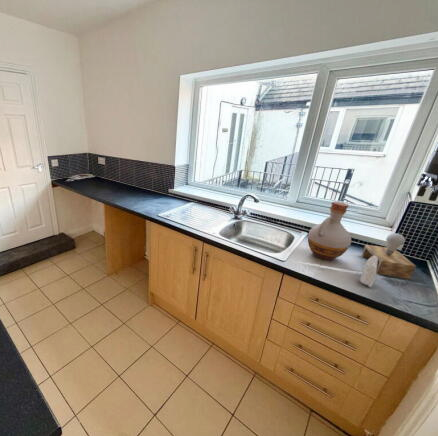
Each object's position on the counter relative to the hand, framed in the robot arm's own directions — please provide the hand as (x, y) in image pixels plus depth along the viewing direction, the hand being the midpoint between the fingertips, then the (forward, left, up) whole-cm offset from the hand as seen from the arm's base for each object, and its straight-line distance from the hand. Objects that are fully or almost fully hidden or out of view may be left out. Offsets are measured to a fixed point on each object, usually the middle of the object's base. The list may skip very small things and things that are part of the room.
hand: (425, 198), depth 112 cm
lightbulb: (+9, +8, -27) cm, 30 cm away
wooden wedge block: (+9, +8, -34) cm, 36 cm away
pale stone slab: (+22, +25, -34) cm, 48 cm away
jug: (+35, +8, -34) cm, 50 cm away
